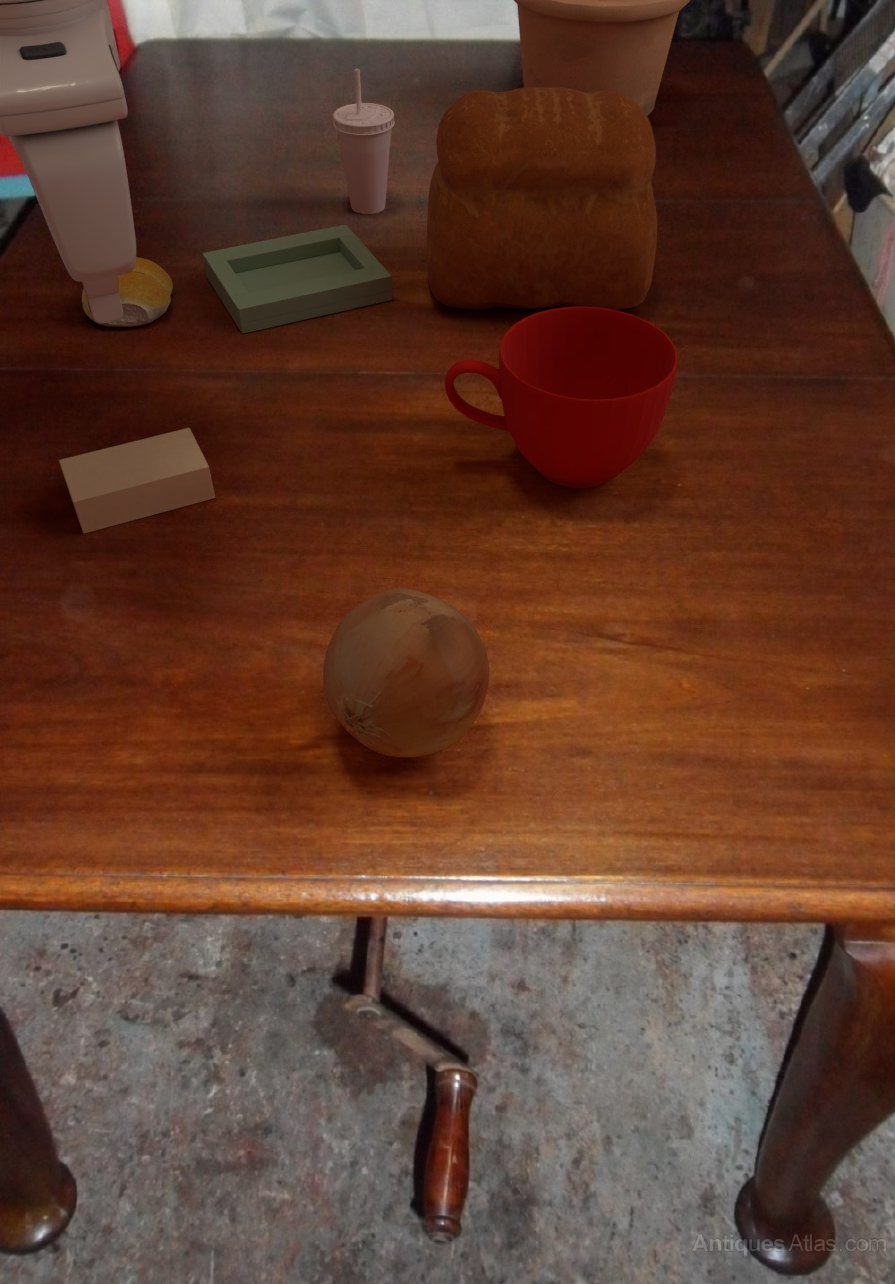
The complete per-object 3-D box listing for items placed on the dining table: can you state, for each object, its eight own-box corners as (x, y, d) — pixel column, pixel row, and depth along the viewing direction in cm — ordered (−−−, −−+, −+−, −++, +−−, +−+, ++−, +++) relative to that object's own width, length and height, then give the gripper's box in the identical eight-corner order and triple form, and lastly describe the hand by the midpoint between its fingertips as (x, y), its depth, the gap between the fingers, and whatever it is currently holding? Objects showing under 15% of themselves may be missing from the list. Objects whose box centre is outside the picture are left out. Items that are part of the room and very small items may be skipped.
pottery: (560, 63, 147) (568, -58, 137) (704, 97, 139) (724, -29, 128) (470, 111, 135) (472, -17, 125) (622, 152, 126) (637, 17, 116)
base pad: (242, 334, 98) (238, 309, 96) (206, 276, 105) (202, 252, 103) (392, 300, 102) (391, 276, 100) (347, 247, 110) (346, 223, 108)
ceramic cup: (447, 413, 89) (447, 303, 82) (650, 417, 89) (668, 307, 81) (442, 512, 80) (441, 398, 73) (667, 516, 80) (689, 402, 72)
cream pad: (83, 534, 78) (73, 502, 76) (68, 491, 82) (58, 459, 80) (215, 498, 81) (209, 466, 79) (195, 458, 85) (189, 427, 82)
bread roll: (176, 280, 105) (168, 241, 102) (170, 327, 99) (162, 287, 96) (90, 285, 104) (80, 246, 101) (79, 332, 98) (68, 292, 95)
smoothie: (326, 207, 116) (315, 68, 106) (369, 189, 119) (361, 52, 109) (367, 225, 113) (360, 84, 103) (409, 206, 116) (406, 67, 106)
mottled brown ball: (301, 764, 64) (283, 649, 56) (368, 651, 70) (360, 535, 63) (453, 812, 61) (453, 698, 54) (508, 690, 68) (515, 575, 60)
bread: (428, 238, 111) (426, 63, 99) (633, 238, 111) (656, 63, 99) (426, 324, 99) (423, 136, 87) (656, 324, 99) (685, 137, 87)
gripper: (-53, -6, 63) (15, 223, 73) (-4, 115, 50) (71, 372, 60) (55, -18, 65) (107, 206, 75) (130, 95, 52) (181, 348, 62)
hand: (92, 281), depth 67 cm, fingers open, 8 cm apart
